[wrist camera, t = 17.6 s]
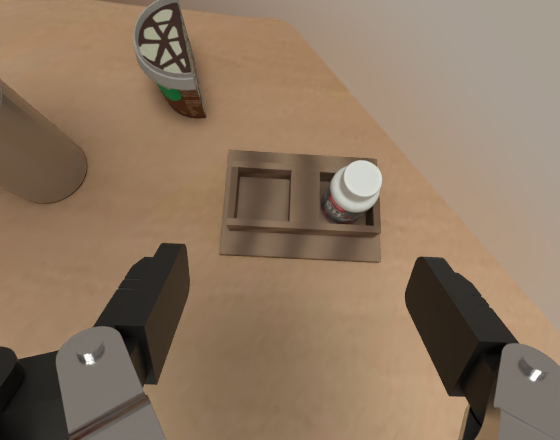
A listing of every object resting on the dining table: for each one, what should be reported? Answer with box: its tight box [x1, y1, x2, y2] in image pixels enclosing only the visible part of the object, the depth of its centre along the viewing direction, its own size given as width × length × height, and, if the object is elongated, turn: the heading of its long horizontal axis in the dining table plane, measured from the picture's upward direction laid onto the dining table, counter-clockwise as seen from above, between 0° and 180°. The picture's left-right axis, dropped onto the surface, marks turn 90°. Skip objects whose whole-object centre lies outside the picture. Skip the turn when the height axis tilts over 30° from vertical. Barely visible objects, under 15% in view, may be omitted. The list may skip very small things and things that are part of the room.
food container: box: [133, 0, 206, 118], centre depth 41 cm, size 12×6×10 cm, turn 13°
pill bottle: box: [321, 160, 382, 225], centre depth 36 cm, size 5×5×10 cm
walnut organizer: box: [220, 150, 381, 263], centre depth 40 cm, size 20×14×4 cm
